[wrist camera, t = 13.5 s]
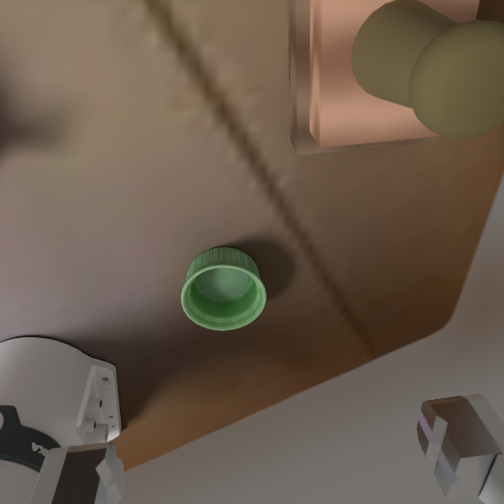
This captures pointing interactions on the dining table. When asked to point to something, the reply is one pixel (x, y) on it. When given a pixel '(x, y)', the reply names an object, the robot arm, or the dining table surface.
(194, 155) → the dining table surface
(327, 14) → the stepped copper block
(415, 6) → the cork
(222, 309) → the ramekin
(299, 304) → the dining table surface
